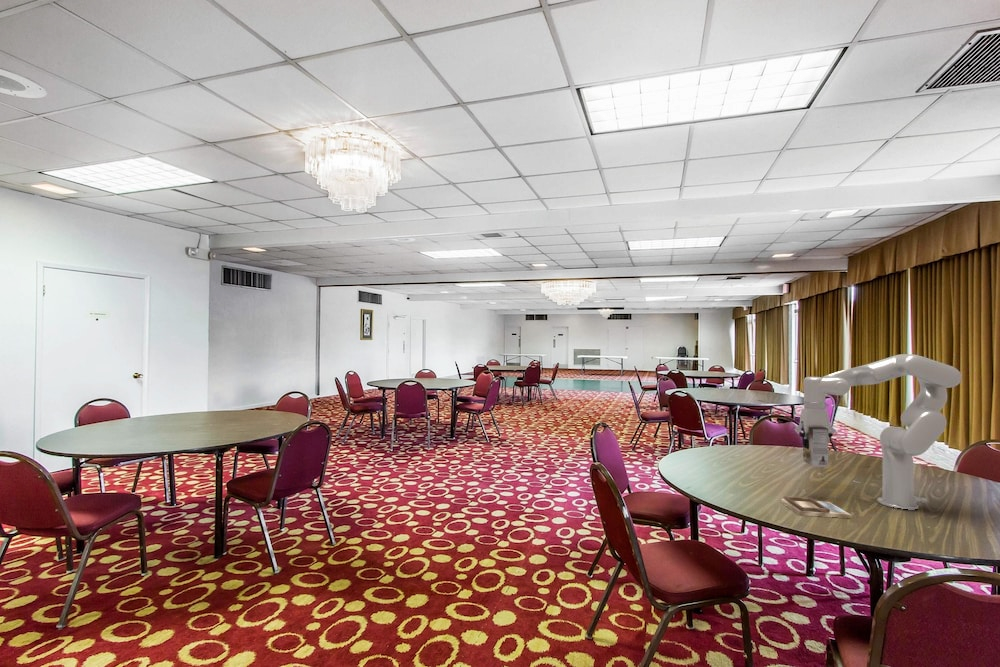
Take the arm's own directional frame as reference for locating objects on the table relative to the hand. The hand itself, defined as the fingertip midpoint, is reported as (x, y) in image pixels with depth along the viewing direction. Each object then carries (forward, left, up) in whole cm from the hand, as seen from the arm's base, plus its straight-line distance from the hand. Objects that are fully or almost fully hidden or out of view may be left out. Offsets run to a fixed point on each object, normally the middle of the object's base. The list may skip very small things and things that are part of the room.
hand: (815, 448), depth 192 cm
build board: (+8, +16, -21) cm, 28 cm away
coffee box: (0, 0, -7) cm, 7 cm away
